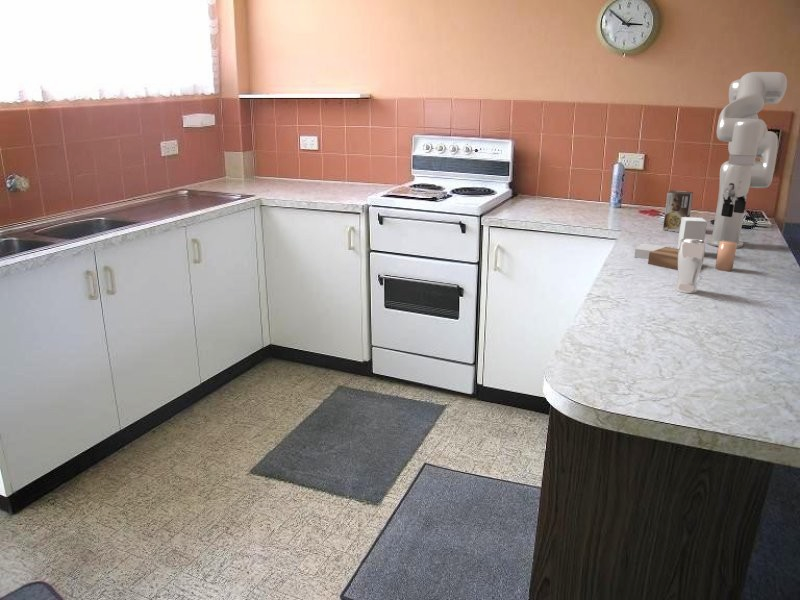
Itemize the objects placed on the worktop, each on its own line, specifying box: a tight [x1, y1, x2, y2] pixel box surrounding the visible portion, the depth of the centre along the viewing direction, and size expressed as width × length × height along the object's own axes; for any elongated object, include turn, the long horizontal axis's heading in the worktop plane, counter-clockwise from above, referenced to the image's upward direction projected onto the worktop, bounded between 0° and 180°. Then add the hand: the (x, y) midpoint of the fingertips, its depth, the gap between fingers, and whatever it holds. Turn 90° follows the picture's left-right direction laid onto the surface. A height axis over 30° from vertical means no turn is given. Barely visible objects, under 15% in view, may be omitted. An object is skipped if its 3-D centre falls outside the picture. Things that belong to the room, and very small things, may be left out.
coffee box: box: [662, 189, 694, 233], centre depth 274 cm, size 9×6×16 cm
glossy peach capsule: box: [714, 241, 737, 272], centre depth 219 cm, size 5×5×9 cm
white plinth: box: [634, 243, 672, 260], centre depth 235 cm, size 10×10×3 cm
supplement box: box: [676, 216, 708, 249], centre depth 238 cm, size 7×7×13 cm
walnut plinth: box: [647, 246, 679, 271], centre depth 225 cm, size 12×12×4 cm
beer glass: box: [674, 238, 706, 294], centre depth 195 cm, size 7×7×15 cm
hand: (732, 214), depth 215 cm, fingers open, 9 cm apart
